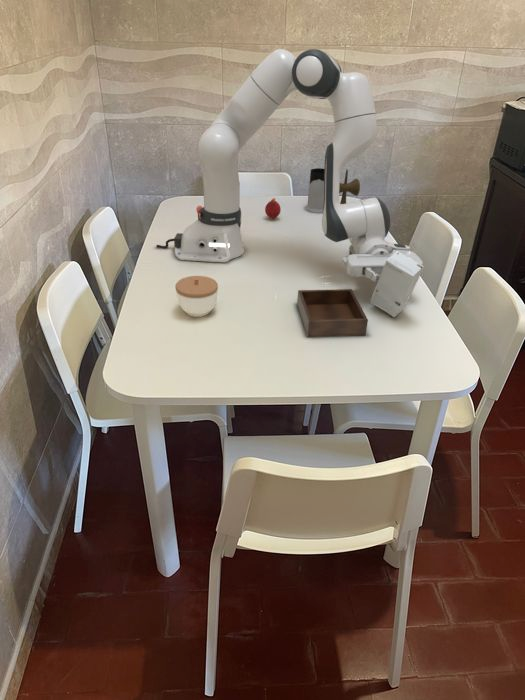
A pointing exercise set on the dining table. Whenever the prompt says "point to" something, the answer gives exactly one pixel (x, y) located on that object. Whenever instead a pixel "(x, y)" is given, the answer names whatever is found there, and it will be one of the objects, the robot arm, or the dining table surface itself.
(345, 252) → the dining table surface
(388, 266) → the cosmetic box
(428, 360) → the dining table surface
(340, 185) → the kendama
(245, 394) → the dining table surface
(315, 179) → the glass holder
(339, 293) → the crate
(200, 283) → the trinket box
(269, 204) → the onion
